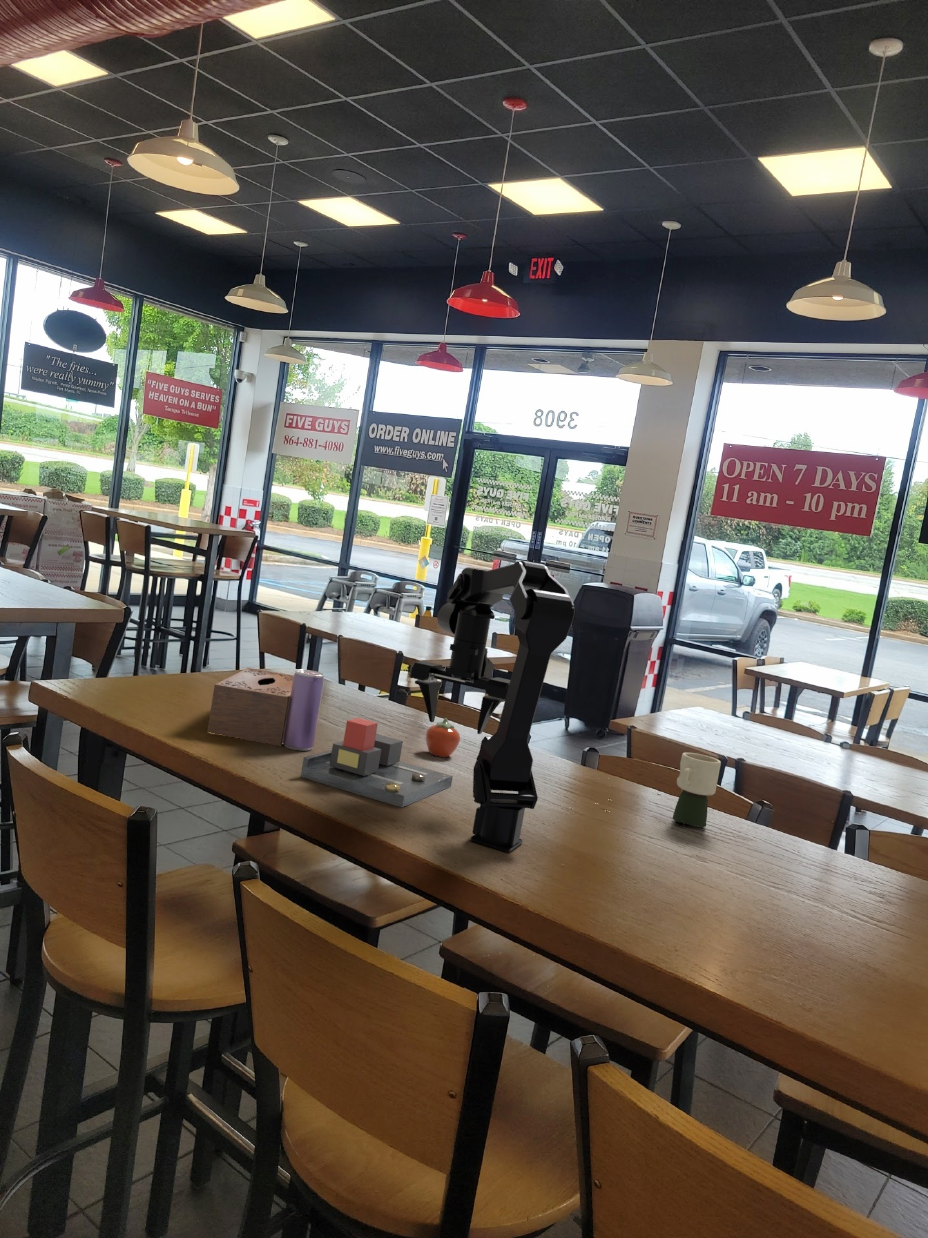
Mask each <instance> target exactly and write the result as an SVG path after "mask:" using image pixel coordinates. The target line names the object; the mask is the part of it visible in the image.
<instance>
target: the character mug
mask: <svg viewBox="0 0 928 1238" xmlns="http://www.w3.org/2000/svg"><path fill="white" fill-rule="evenodd" d="M721 764H722V762H721V760H719V759H718V758H715V757H712V756H710V755H706V754H701V753H697V752H696V753H695V752H683V753H682V755H681V758H680V763H679V767H680V770H679V774H678V777H677V779H676V785H677V787H679V788H680V789H681V792H680V793H679V797H678V799H677V802H676V805H675V808H674V811H673V816H672V820H673V821H675V822H678V823H683V826H685V827H687V826H688V825H690V826H693V827H696V828H697V827H698V828H706V827H707V818H708V808H709V807H708V805H709V800H708V797H707V796H713V795H714V794H715V793H716V792H717V791H716V790H717V787H718V786H717V785H718V779H719V776H720V775H719V774H720V770H721Z"/></svg>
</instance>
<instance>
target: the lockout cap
mask: <svg viewBox="0 0 928 1238" xmlns="http://www.w3.org/2000/svg"><path fill="white" fill-rule="evenodd" d="M345 724H346V726H345V730H344V737H343V741H344V742H343V746H346V747H350V748H353V749H357V750H361V751H365V750H368V749H372V748H374V743H375V737H376V734H377V731H378V730H377V729H378V725H379V723H378V722H374V721H370V720H368V719H363V718H359V717H357V718H351V719H348V720H346V723H345Z"/></svg>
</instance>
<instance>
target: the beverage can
mask: <svg viewBox="0 0 928 1238" xmlns="http://www.w3.org/2000/svg"><path fill="white" fill-rule="evenodd" d="M294 672H295V673H294V674H293V675H294V676H293V683H292V689H291V695H290V701H289V708H288V714H287V720H286V727H285V733H284V739H283V746H284V748H286V749H288V748H289V749H288V750H292V751H297V750H298V751H299V752H309V751H311V750H312V749H313V748H314V746H315V740H316V733H317V727H318V721H319V715H320V709H321V705H322V704H321V702H322V697H323V691H324V684H325V674H324V673H322V672H320V671H315V670H309V669H295V671H294ZM298 751H297V752H298Z"/></svg>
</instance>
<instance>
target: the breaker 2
mask: <svg viewBox="0 0 928 1238" xmlns="http://www.w3.org/2000/svg"><path fill="white" fill-rule="evenodd" d="M403 743H404V740H400V739H396V738H393V737H390V736H386V735H382V734H379V733H378V734H377V733H376V737H375V743H374V747H375V748H379V749H381V755H380V761H379V764H382V765H386V766H388V765H391V764H394V763H397V762H399V761H400V760H401V756H402V755H401V754H402V751H403V748H402V747H403Z"/></svg>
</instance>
